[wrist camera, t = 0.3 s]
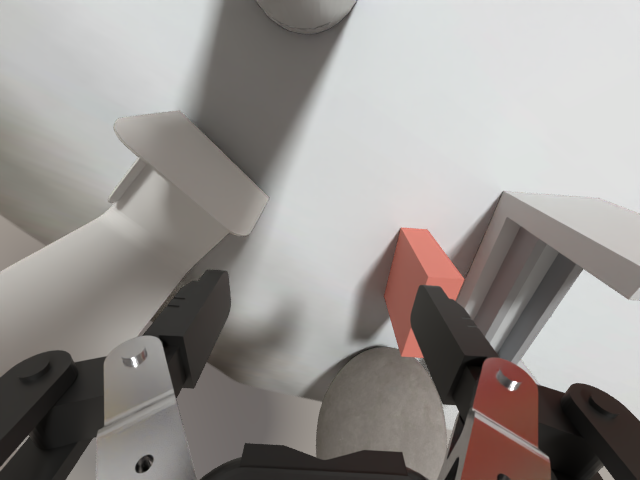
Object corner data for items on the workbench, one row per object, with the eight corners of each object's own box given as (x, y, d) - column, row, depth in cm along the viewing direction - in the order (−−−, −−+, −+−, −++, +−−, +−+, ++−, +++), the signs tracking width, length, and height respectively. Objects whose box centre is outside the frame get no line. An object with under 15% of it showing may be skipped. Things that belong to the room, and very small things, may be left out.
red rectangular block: (400, 227, 29) (428, 276, 21) (427, 229, 29) (464, 279, 21) (383, 295, 34) (401, 356, 26) (406, 297, 34) (430, 358, 26)
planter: (335, 390, 44) (341, 563, 28) (304, 372, 42) (291, 548, 26) (427, 337, 38) (504, 525, 21) (396, 312, 35) (456, 500, 19)
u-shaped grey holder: (503, 190, 27) (652, 272, 15) (598, 197, 27) (824, 284, 15) (436, 346, 39) (487, 464, 26) (502, 351, 39) (584, 469, 27)
